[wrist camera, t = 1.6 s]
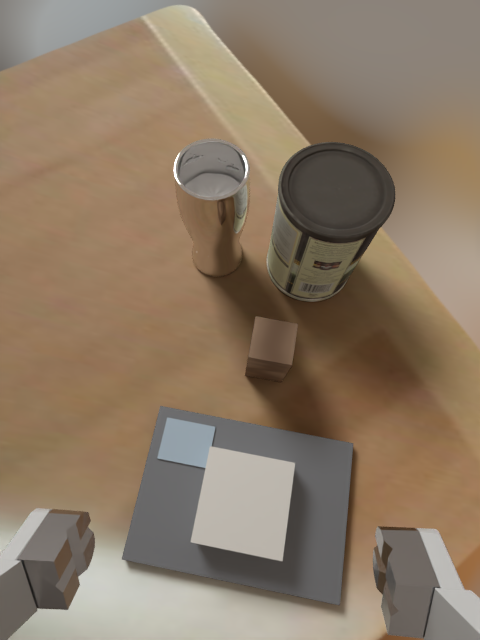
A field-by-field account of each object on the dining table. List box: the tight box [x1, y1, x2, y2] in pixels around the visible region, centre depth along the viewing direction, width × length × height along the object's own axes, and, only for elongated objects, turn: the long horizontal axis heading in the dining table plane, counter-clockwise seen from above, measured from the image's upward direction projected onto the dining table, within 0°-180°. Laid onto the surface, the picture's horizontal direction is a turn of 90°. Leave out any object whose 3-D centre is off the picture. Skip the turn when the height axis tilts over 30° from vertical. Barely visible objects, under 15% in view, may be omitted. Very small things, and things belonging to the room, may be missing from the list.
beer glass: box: [174, 139, 250, 277], centre depth 41 cm, size 7×7×15 cm
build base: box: [122, 406, 353, 605], centre depth 37 cm, size 20×14×4 cm
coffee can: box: [267, 142, 395, 302], centre depth 41 cm, size 10×10×14 cm
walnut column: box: [245, 316, 298, 382], centre depth 40 cm, size 4×4×8 cm
